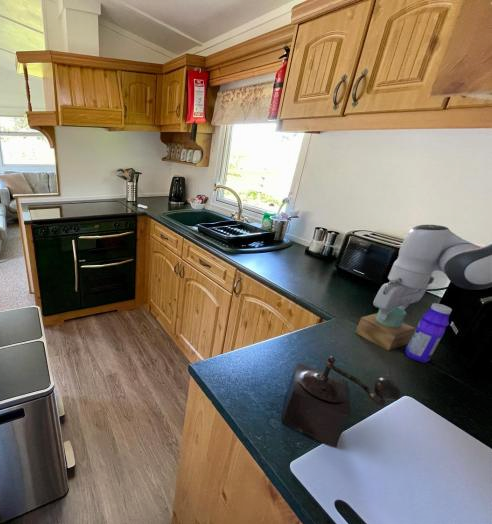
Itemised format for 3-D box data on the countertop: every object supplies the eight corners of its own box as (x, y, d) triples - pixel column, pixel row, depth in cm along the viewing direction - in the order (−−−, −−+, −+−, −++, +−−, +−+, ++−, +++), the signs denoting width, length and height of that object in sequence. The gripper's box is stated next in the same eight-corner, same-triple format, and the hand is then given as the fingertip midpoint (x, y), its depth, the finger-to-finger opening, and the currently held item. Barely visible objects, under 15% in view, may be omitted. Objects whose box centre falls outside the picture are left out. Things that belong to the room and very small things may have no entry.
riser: (407, 343, 93) (415, 328, 91) (388, 350, 89) (395, 334, 87) (374, 326, 102) (380, 312, 99) (355, 332, 97) (361, 317, 95)
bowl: (404, 326, 92) (411, 312, 90) (393, 330, 89) (399, 316, 87) (382, 315, 97) (388, 302, 95) (370, 319, 94) (376, 305, 93)
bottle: (405, 346, 91) (429, 298, 85) (429, 356, 88) (456, 306, 81) (402, 356, 87) (428, 306, 80) (428, 367, 83) (456, 315, 77)
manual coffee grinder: (279, 425, 61) (303, 357, 55) (285, 391, 70) (306, 329, 64) (368, 467, 54) (407, 395, 47) (362, 424, 63) (394, 358, 56)
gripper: (401, 285, 80) (382, 327, 85) (437, 277, 89) (418, 316, 94) (376, 276, 86) (360, 316, 91) (413, 269, 94) (396, 306, 99)
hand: (390, 316), depth 92 cm, fingers closed on bowl, 7 cm apart
